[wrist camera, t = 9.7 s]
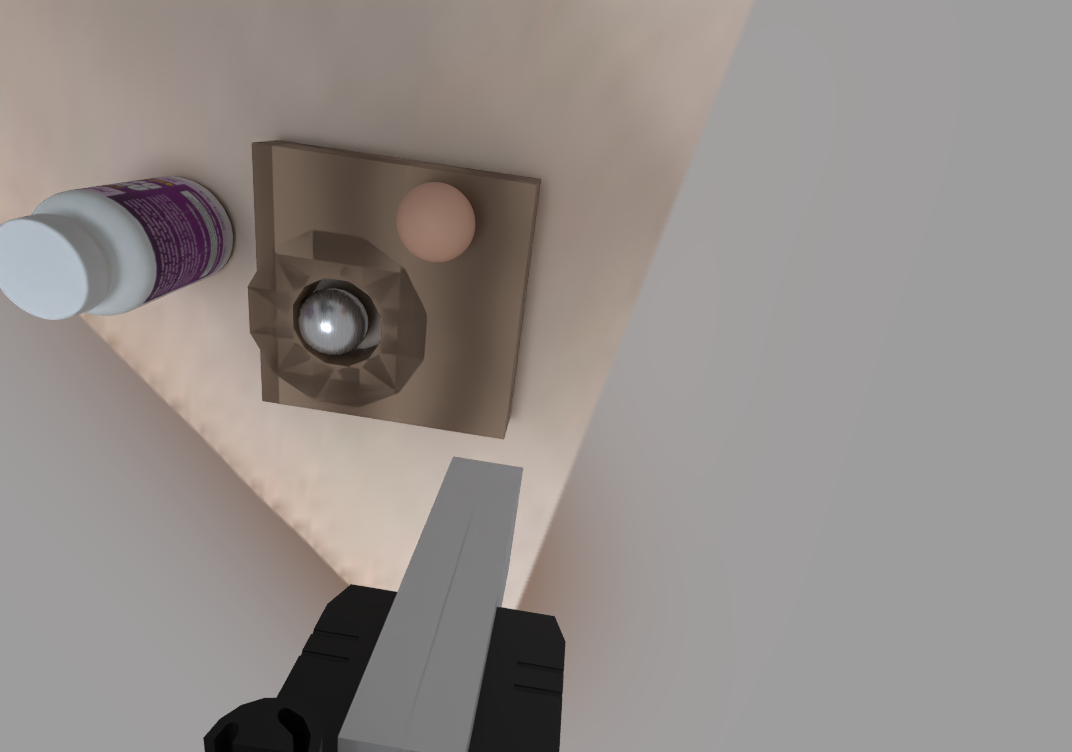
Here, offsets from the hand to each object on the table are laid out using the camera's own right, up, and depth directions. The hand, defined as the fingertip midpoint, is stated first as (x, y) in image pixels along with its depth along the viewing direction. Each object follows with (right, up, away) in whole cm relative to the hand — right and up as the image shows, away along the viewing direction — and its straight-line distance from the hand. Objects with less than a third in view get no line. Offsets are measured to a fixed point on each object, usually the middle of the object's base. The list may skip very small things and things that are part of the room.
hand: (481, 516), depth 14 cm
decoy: (-3, +10, +14) cm, 17 cm away
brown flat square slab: (-6, +8, +20) cm, 22 cm away
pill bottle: (-17, +11, +20) cm, 28 cm away
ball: (-9, +6, +19) cm, 22 cm away
